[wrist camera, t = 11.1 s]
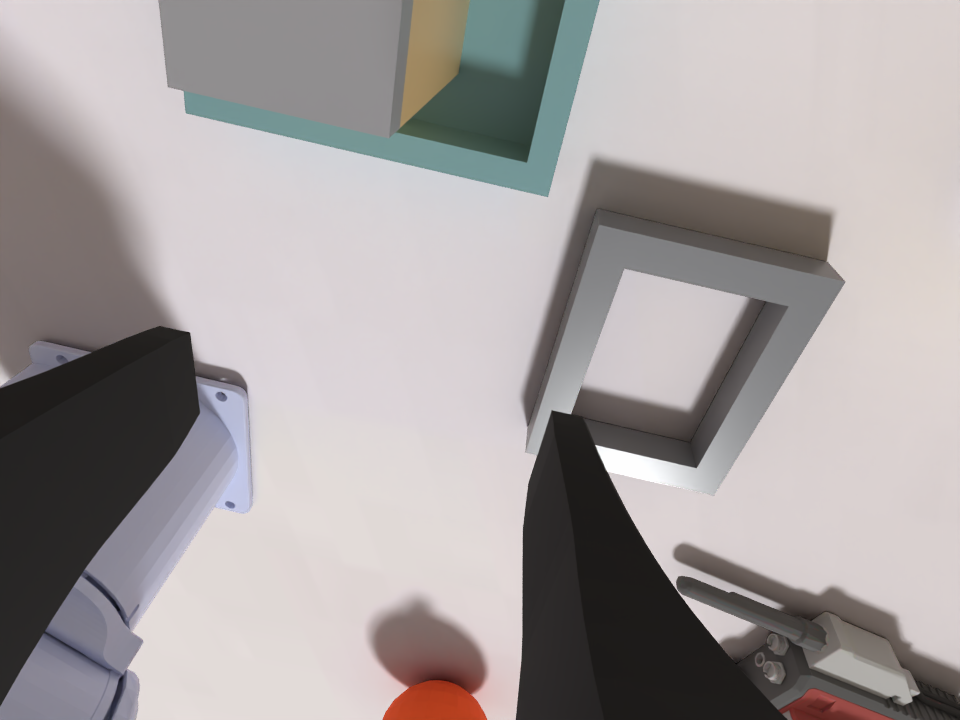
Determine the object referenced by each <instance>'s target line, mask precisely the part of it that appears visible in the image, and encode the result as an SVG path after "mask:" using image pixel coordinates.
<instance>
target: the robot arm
mask: <svg viewBox="0 0 960 720" xmlns="http://www.w3.org/2000/svg"><path fill="white" fill-rule="evenodd" d="M29 354H30V357H31V360H32V363H33V364H31V365H29V366H28V367H27V368H25V369H24V370H22V371H21V372H20V373H18V374H17V375H16V376H14V377H13V378H11V379H10V380H9V381H7V382H6V383H5V384H3V385H2V386H1V387H0V720H136V717H137V712H138V696H139V689H140V685H139V678H138V677H137V675H136V674H135V673H134V672H132V671H130V670H128V669H127V668H128V666H129V664H130V663H131V661H132V660H133V658H134V656H135V655H136V653H137V652H138V650H139V649H140V647H141V645H142V644H143V640H142V639H141V638H140V637H138V636H137V635H135V634H134V633H133V632H132V631H133V630H134V628H135V627H136V625H137V624H138V622H139V621H140V619H141V617H142V616H143V614H144V613H145V611H146V610H147V608H148V607H149V605H150V604H151V602H152V601H153V599H154V598H155V596H156V595H157V593H158V592H159V590H160V589H161V587H162V586H163V584H164V583H165V581H166V580H167V578H168V577H169V575H170V574H171V572H172V571H173V569H174V567H175V566H176V564H177V563H178V561H179V560H180V558H181V557H182V555H183V554H184V552H185V551H186V549H187V548H188V546H189V545H190V543H191V542H192V540H193V539H194V537H195V536H196V534H197V533H198V531H199V530H200V528H201V527H202V525H203V524H204V522H205V520H206V519H207V517H208V516H209V514H210V513H211V511H212V510H213V508H214V507H216V508H220V509H225V510H229V511H233V512H238V513H248V512H249V511H250V509H251V508H252V505H253V498H252V478H251V457H250V436H249V415H248V397H247V393H246V392H245V391H244V390H243V389H242V388H241V387H239V386H236V385H232V384H227V383H223V382H219V381H214V380H210V379H206V378H201V377H197V376H195V368H194V360H193V352H192V344H191V336H190V333H189V332H185V331H180V330H175V329H171V328H166V327H161V326H159V327H156V328H153V329H150V330H147V331H144V332H141V333H139V334H136V335H133V336H131V337H128V338H126V339H123V340H121V341H118V342H116V343H114V344H111V345H109V346H106V347H104V348H101V349H99V350H97V351H94V352H88V351H84V350H79V349H75V348H71V347H66V346H62V345H58V344H53V343H49V342H45V341H37V342H35V343H33V344H32V345H30V347H29ZM221 392H222V393H224V394H225V395H226V396H225V395H223V394H222V393H221ZM516 720H788V719H787V718H786V717H785V716H784V715H783V714H782V713H781V712H780V711H779V710H778V709H777V708H776V707H775V706H774V705H773V704H772V703H771V702H770V701H769V700H768V699H767V698H766V697H765V695H764V694H763V693H762V692H761V691H760V690H759V689H758V688H757V687H756V686H755V685H754V684H753V682H752V681H751V680H750V679H749V678H748V677H747V676H746V675H745V674H744V673H743V672H742V671H741V669H740V668H739V667H738V666H737V665H736V664H735V663H734V661H733V660H732V659H731V658H730V657H729V656H728V654H727V653H726V652H725V651H724V650H723V648H722V647H721V646H720V645H719V644H718V642H717V641H716V640H715V639H714V637H713V636H712V635H711V634H710V633H709V631H708V630H707V629H706V628H705V626H704V625H703V624H702V623H701V622H700V620H699V619H698V618H697V617H696V615H695V614H694V613H693V612H692V610H691V609H690V608H689V606H688V605H687V604H686V602H685V601H684V600H683V598H682V597H681V596H680V594H679V593H678V592H677V590H676V589H675V587H674V586H673V584H672V583H671V581H670V580H669V579H668V577H667V576H666V574H665V573H664V571H663V570H662V568H661V567H660V565H659V564H658V562H657V561H656V559H655V558H654V556H653V554H652V553H651V551H650V550H649V548H648V546H647V545H646V543H645V541H644V540H643V538H642V536H641V535H640V533H639V531H638V529H637V528H636V526H635V524H634V523H633V521H632V519H631V517H630V515H629V513H628V512H627V510H626V508H625V506H624V504H623V502H622V500H621V498H620V496H619V494H618V492H617V490H616V489H615V487H614V485H613V483H612V481H611V479H610V476H609V474H608V472H607V470H606V468H605V466H604V464H603V461H602V459H601V457H600V455H599V453H598V450H597V448H596V446H595V443H594V441H593V438H592V436H591V433H590V431H589V429H588V426H587V423H586V422H585V420H584V418H583V417H581V416H577V415H572V414H567V413H563V412H558V411H553V410H552V411H551V414H550V417H549V420H548V423H547V427H546V430H545V433H544V436H543V439H542V442H541V446H540V449H539V452H538V455H537V458H536V461H535V465H534V468H533V471H532V474H531V477H530V480H529V484H528V492H527V500H526V508H525V516H524V525H523V638H522V661H521V672H520V682H519V693H518V703H517V713H516Z"/></svg>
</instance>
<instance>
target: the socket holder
mask: <svg viewBox="0 0 960 720" xmlns="http://www.w3.org/2000/svg"><path fill="white" fill-rule="evenodd" d="M624 269H629V270H633V271H637V272H642V273H646V274H650V275H655V276H659V277H663V278H668V279H672V280H676V281H681V282H685V283H689V284H694V285H698V286H702V287H707V288H711V289H715V290H720V291H724V292H728V293H733V294H737V295H741V296H746V297H750V298H754V299H759V300H763V301H766V303H765V305H764V307H763V309H762V310H761V312H760V314H759V316H758V318H757V320H756V322H755V323H754V325H753V327H752V329H751V331H750V333H749V335H748V336H747V338H746V340H745V342H744V344H743V346H742V347H741V349H740V351H739V353H738V355H737V357H736V359H735V360H734V362H733V364H732V366H731V368H730V370H729V372H728V373H727V375H726V377H725V379H724V381H723V383H722V385H721V386H720V388H719V390H718V392H717V394H716V396H715V398H714V399H713V401H712V403H711V405H710V407H709V409H708V411H707V412H706V414H705V416H704V418H703V420H702V422H701V424H700V425H699V427H698V429H697V431H696V433H695V435H694V437H693V438H692V440H691V442H690V443H689V442H684V441H680V440H676V439H671V438H667V437H663V436H658V435H654V434H650V433H645V432H641V431H637V430H632V429H628V428H624V427H619V426H615V425H610V424H606V423H602V422H597V421H593V420H589V419H584V420H585V422H586V423H587V426H588V429H589V431H590V433H591V436H592V438H593V441H594V443H595V446H596V448H597V450H598V453H599V455H600V457H601V459H602V461H603V464H604V466H605V468H606V470H607V471H608V472H612V473H617V474H621V475H625V476H630V477H634V478H638V479H643V480H647V481H651V482H656V483H660V484H664V485H669V486H673V487H677V488H682V489H686V490H690V491H695V492H699V493H704V494H708V495H712V496H714V495H715V493H716V492H717V490H718V488H719V487H720V485H721V484H722V482H723V480H724V479H725V477H726V475H727V474H728V472H729V471H730V469H731V467H732V466H733V464H734V462H735V461H736V459H737V458H738V456H739V454H740V453H741V451H742V449H743V448H744V446H745V445H746V443H747V441H748V440H749V438H750V436H751V435H752V433H753V431H754V430H755V428H756V427H757V425H758V423H759V422H760V420H761V418H762V417H763V415H764V414H765V412H766V410H767V409H768V407H769V405H770V404H771V402H772V401H773V399H774V397H775V396H776V394H777V392H778V391H779V389H780V388H781V386H782V384H783V383H784V381H785V379H786V378H787V376H788V375H789V373H790V371H791V370H792V368H793V366H794V365H795V363H796V362H797V360H798V358H799V357H800V355H801V353H802V352H803V350H804V348H805V347H806V345H807V344H808V342H809V340H810V339H811V337H812V335H813V334H814V332H815V331H816V329H817V327H818V326H819V324H820V322H821V321H822V319H823V318H824V316H825V314H826V313H827V311H828V309H829V308H830V306H831V305H832V303H833V301H834V300H835V298H836V296H837V295H838V293H839V292H840V290H841V288H842V287H843V285H844V283H845V281H844V280H843V279H842V278H841V276H840V275H839V274H838V273H837V272H836V271H835V270H834V269H833V268H832V266H831V265H830V264H829V263H828V262H826V261H821V260H817V259H813V258H808V257H804V256H800V255H795V254H791V253H787V252H782V251H778V250H774V249H770V248H765V247H761V246H757V245H752V244H748V243H744V242H739V241H735V240H731V239H726V238H722V237H718V236H713V235H709V234H705V233H700V232H696V231H692V230H687V229H683V228H679V227H675V226H670V225H666V224H662V223H657V222H653V221H649V220H644V219H640V218H636V217H631V216H627V215H623V214H618V213H614V212H610V211H605V210H601V209H597V210H596V213H595V217H594V220H593V223H592V226H591V229H590V232H589V236H588V239H587V242H586V245H585V248H584V251H583V255H582V258H581V261H580V264H579V267H578V270H577V274H576V277H575V280H574V283H573V286H572V289H571V292H570V296H569V299H568V302H567V305H566V308H565V311H564V315H563V318H562V321H561V324H560V327H559V330H558V334H557V337H556V340H555V343H554V346H553V349H552V353H551V356H550V359H549V362H548V365H547V368H546V372H545V375H544V378H543V381H542V384H541V387H540V391H539V394H538V397H537V400H536V403H535V406H534V410H533V413H532V416H531V419H530V422H529V425H528V429H527V440H526V452H525V453H530V454H534V455H538V452H539V449H540V446H541V442H542V439H543V436H544V433H545V430H546V427H547V423H548V420H549V417H550V414H551V411H552V410H553V411H558V412H563V413H567V414H571V413H572V410H573V407H574V404H575V402H576V399H577V396H578V394H579V391H580V388H581V385H582V383H583V380H584V377H585V374H586V372H587V369H588V366H589V364H590V361H591V358H592V355H593V353H594V350H595V347H596V344H597V342H598V339H599V336H600V333H601V331H602V328H603V325H604V323H605V320H606V317H607V314H608V312H609V309H610V306H611V303H612V301H613V298H614V295H615V293H616V290H617V287H618V284H619V282H620V279H621V276H622V273H623V271H624Z"/></svg>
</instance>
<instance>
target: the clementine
mask: <svg viewBox="0 0 960 720" xmlns="http://www.w3.org/2000/svg"><path fill="white" fill-rule="evenodd" d="M383 720H487V718H486V716H485V714H484V712H483V710H482V708H481V707H480V705H479V703H478V702H477V700H476V699H475V698H474V697H473V696H472V695H471V694H469V693H468V692H467V691H466V690H465V689H463V688H462V687H460V686H459V685H456V684H454V683H451V682H447V681H442V680H430V681H425V682H422V683H419V684H416V685H414V686H412V687H409V688H408V689H407V690H406V691H405V692H403V693H402V694H401V695H400V696H399V697H397V698H396V699H395V700H394V701H393V703H392V704H391V705H390V707H389V708H388V710H387V711H386V713H385V715H384V717H383Z"/></svg>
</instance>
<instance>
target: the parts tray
mask: <svg viewBox="0 0 960 720" xmlns="http://www.w3.org/2000/svg"><path fill="white" fill-rule="evenodd" d="M599 1H600V0H470V3H469V9H468V16H467V22H466V29H465V35H464V42H463V48H462V55H461V61H460V68H459V74H458V75H456V76H455V77H454V78H453V79H452V80H451V81H450V82H449V83H448V84H447V85H446V86H445V87H444V88H443V89H441V90H440V91H439V92H438V93H437V94H436V95H435V96H434V97H433V98H432V99H431V100H430V101H429V102H428V103H426V104H425V105H424V106H423V107H422V108H421V109H420V110H419V111H418V112H417V113H416V114H415V115H414V116H412V117H411V118H410V119H409V120H408V121H407V122H406V123H405V124H404V125H403V126H402V127H401V128H400V129H399V130H397V131H396V132H395V133H394V134H393V135H392V136H391V137H390V138H385V137H381V136H376V135H372V134H368V133H363V132H359V131H355V130H350V129H346V128H342V127H337V126H333V125H329V124H325V123H320V122H316V121H312V120H307V119H303V118H299V117H294V116H290V115H286V114H281V113H277V112H273V111H269V110H264V109H260V108H256V107H251V106H247V105H243V104H238V103H234V102H230V101H225V100H221V99H217V98H213V97H208V96H204V95H200V94H195V93H191V92H187V91H184V100H185V111H186V113H187V114H192V115H196V116H200V117H204V118H209V119H213V120H217V121H222V122H226V123H230V124H235V125H239V126H243V127H248V128H252V129H256V130H261V131H265V132H269V133H274V134H278V135H282V136H287V137H291V138H295V139H299V140H304V141H308V142H312V143H317V144H321V145H325V146H330V147H334V148H338V149H343V150H347V151H351V152H356V153H360V154H364V155H369V156H373V157H377V158H382V159H386V160H390V161H394V162H399V163H403V164H407V165H412V166H416V167H420V168H425V169H429V170H433V171H438V172H442V173H446V174H451V175H455V176H459V177H464V178H468V179H472V180H477V181H481V182H485V183H489V184H494V185H498V186H502V187H507V188H511V189H515V190H520V191H524V192H528V193H533V194H537V195H541V196H546V197H548V195H549V191H550V187H551V183H552V179H553V176H554V172H555V168H556V164H557V160H558V157H559V153H560V149H561V145H562V141H563V138H564V134H565V130H566V126H567V122H568V119H569V115H570V111H571V107H572V103H573V100H574V96H575V92H576V88H577V84H578V81H579V77H580V73H581V69H582V65H583V62H584V58H585V54H586V50H587V46H588V43H589V39H590V35H591V31H592V27H593V24H594V20H595V16H596V12H597V8H598V5H599Z"/></svg>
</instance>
